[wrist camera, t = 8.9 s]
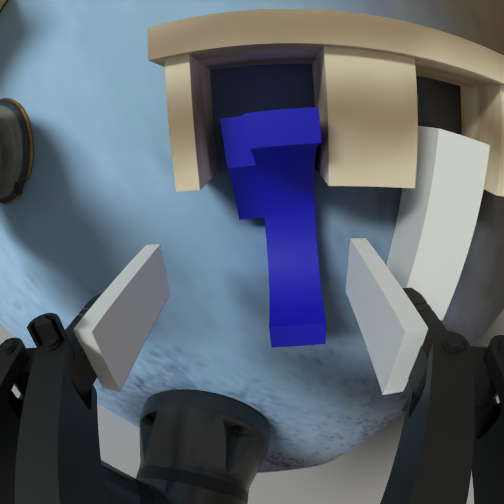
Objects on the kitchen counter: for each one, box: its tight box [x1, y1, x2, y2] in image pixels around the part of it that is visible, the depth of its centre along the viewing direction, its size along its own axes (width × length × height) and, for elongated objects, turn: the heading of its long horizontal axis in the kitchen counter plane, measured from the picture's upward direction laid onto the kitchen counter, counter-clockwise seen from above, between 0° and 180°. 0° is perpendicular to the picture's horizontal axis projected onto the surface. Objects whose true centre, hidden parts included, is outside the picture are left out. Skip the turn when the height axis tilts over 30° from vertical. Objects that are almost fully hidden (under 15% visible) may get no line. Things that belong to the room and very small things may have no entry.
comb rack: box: [148, 9, 504, 196], centre depth 13 cm, size 8×20×5 cm, turn 93°
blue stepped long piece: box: [220, 107, 326, 347], centre depth 16 cm, size 12×4×6 cm, turn 7°
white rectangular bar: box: [386, 126, 490, 320], centre depth 16 cm, size 12×4×4 cm, turn 178°
